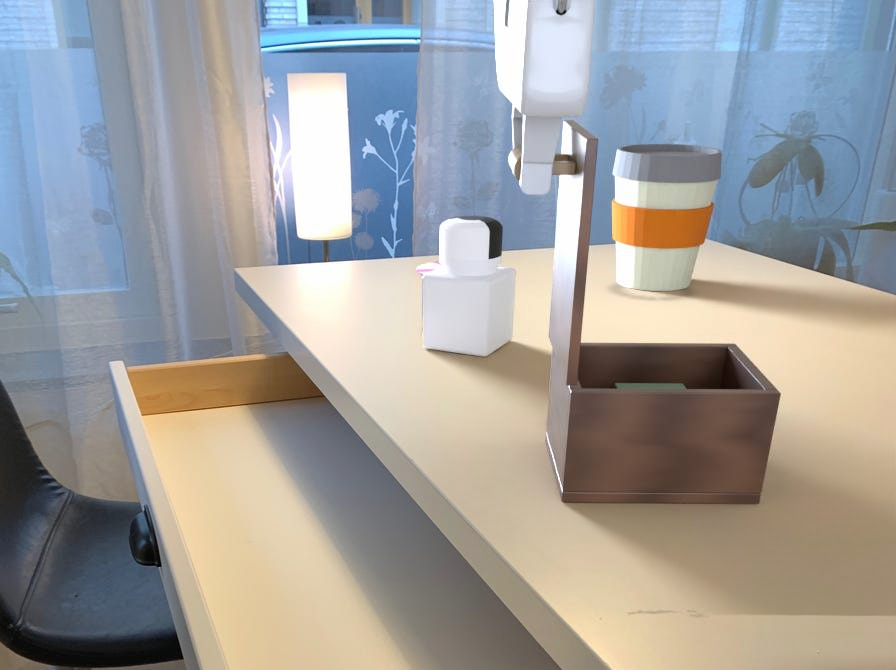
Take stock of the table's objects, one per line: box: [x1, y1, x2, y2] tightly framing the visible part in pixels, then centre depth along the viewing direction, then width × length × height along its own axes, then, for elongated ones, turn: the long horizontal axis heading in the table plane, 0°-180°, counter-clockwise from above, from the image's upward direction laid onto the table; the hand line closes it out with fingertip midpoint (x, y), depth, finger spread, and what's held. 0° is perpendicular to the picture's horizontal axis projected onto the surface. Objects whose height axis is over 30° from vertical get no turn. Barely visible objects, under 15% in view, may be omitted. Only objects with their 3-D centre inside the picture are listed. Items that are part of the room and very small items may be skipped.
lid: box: [507, 119, 599, 386], centre depth 67 cm, size 14×12×4 cm
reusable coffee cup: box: [611, 143, 723, 292], centre depth 123 cm, size 13×13×15 cm
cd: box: [416, 260, 442, 276], centre depth 132 cm, size 11×11×1 cm
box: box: [545, 342, 782, 505], centre depth 73 cm, size 14×12×8 cm
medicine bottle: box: [421, 214, 517, 358], centre depth 100 cm, size 7×7×12 cm
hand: (529, 185), depth 65 cm, fingers closed on lid, 5 cm apart
